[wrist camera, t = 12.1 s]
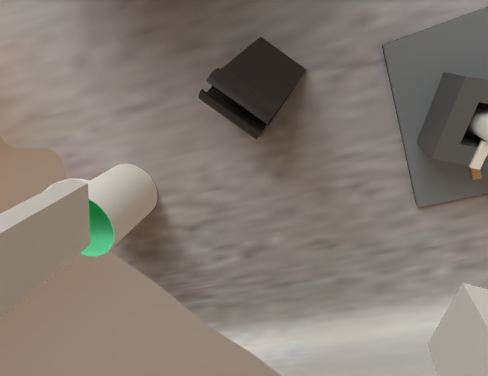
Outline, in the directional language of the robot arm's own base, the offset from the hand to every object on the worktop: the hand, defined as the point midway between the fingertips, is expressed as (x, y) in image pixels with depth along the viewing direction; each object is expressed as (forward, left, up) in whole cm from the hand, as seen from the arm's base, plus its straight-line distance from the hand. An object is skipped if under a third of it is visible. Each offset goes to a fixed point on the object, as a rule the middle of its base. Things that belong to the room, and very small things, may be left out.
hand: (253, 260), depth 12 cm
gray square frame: (+5, +15, -28) cm, 32 cm away
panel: (+5, +15, -29) cm, 33 cm away
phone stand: (-4, -4, -29) cm, 30 cm away
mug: (+2, -28, -29) cm, 40 cm away
